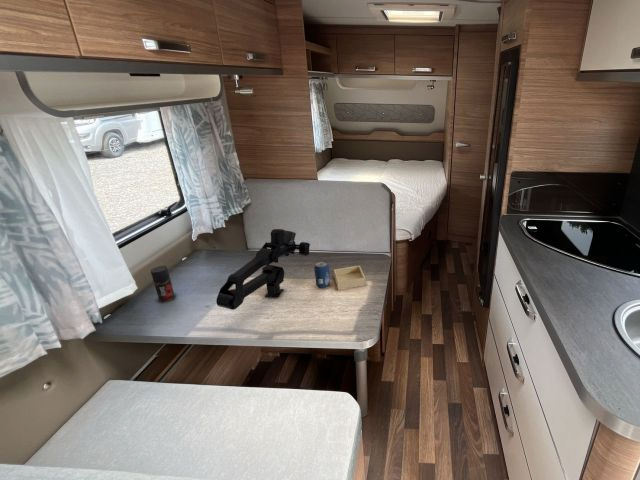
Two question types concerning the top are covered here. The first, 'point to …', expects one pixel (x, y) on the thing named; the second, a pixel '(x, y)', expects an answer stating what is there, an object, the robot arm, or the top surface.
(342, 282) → the wooden tray
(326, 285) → the soda can
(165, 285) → the deodorant
